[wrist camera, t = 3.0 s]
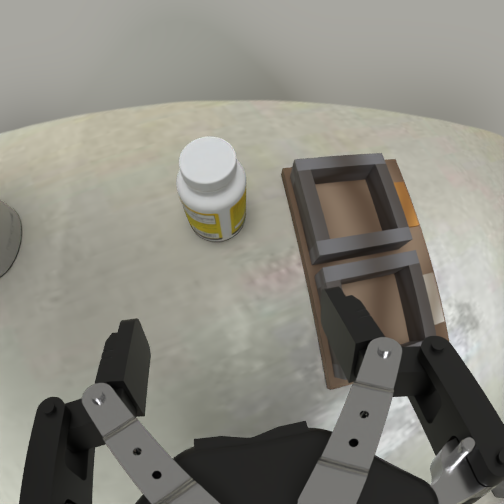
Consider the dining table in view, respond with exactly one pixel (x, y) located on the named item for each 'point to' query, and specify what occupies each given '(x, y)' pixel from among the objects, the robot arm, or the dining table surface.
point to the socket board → (363, 247)
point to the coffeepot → (499, 490)
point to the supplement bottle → (212, 188)
